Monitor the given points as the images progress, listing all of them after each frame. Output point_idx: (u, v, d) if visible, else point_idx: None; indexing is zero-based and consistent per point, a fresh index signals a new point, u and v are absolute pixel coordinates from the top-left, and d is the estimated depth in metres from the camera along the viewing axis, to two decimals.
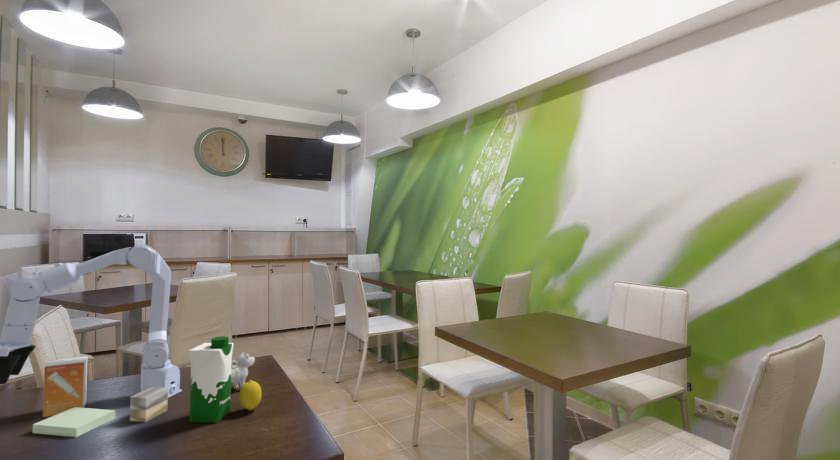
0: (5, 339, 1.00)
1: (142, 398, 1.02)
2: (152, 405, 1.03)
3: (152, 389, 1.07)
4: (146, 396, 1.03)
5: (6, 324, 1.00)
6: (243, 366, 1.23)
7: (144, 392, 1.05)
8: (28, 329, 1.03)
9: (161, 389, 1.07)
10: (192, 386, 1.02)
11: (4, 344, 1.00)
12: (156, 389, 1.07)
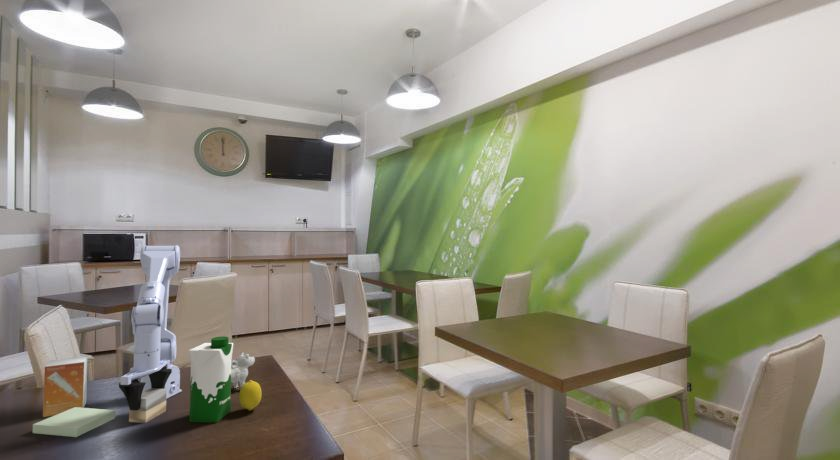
0: (134, 366, 1.03)
1: (142, 399, 1.01)
2: (152, 406, 1.03)
3: (150, 390, 1.07)
4: (146, 397, 1.02)
5: (134, 351, 1.03)
6: (243, 366, 1.23)
7: (143, 393, 1.05)
8: (151, 356, 1.03)
9: (160, 390, 1.07)
10: (192, 386, 1.02)
11: (134, 371, 1.03)
12: (155, 390, 1.07)
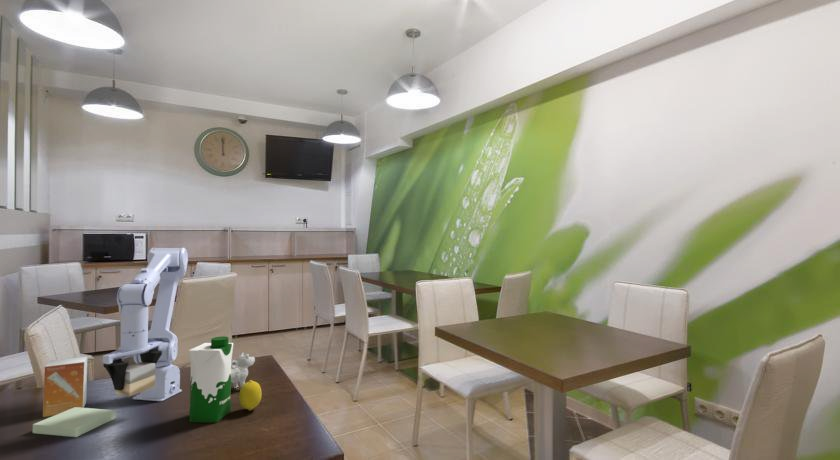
0: None
1: (127, 372, 1.00)
2: (137, 379, 1.02)
3: (140, 364, 1.06)
4: (131, 370, 1.01)
5: None
6: (243, 366, 1.23)
7: (131, 366, 1.04)
8: (135, 336, 1.02)
9: (148, 364, 1.06)
10: (192, 386, 1.02)
11: (120, 351, 1.02)
12: (143, 364, 1.06)
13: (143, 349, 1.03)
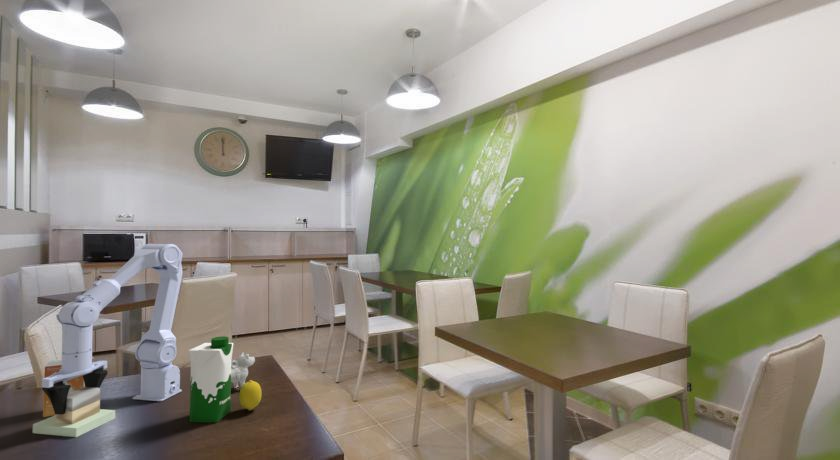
0: None
1: (69, 399, 0.96)
2: (80, 406, 0.97)
3: (83, 389, 1.01)
4: (73, 397, 0.97)
5: None
6: (243, 366, 1.23)
7: (73, 392, 0.99)
8: (78, 357, 0.98)
9: (92, 389, 1.01)
10: (192, 386, 1.02)
11: (61, 373, 0.97)
12: (87, 389, 1.01)
13: (87, 370, 0.99)
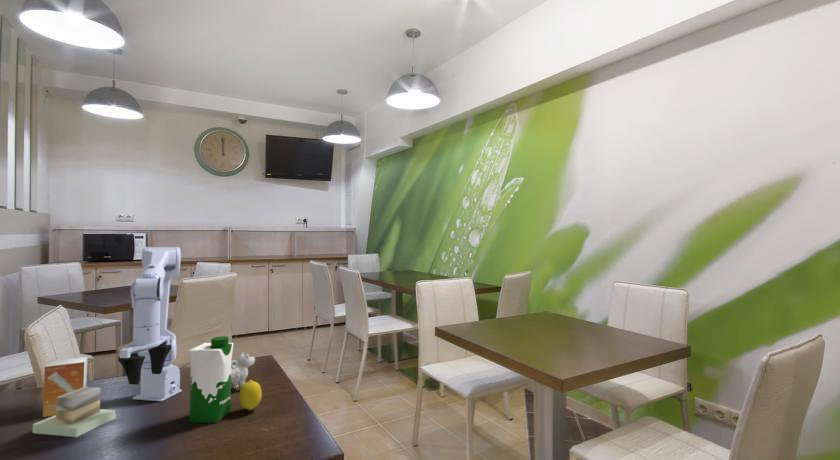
0: (134, 340, 1.02)
1: (69, 399, 0.96)
2: (80, 406, 0.98)
3: (83, 389, 1.01)
4: (73, 396, 0.97)
5: (133, 326, 1.02)
6: (243, 366, 1.23)
7: (73, 392, 0.99)
8: (150, 330, 1.02)
9: (93, 389, 1.01)
10: (192, 386, 1.02)
11: (133, 345, 1.01)
12: (87, 389, 1.01)
13: (157, 343, 1.04)
